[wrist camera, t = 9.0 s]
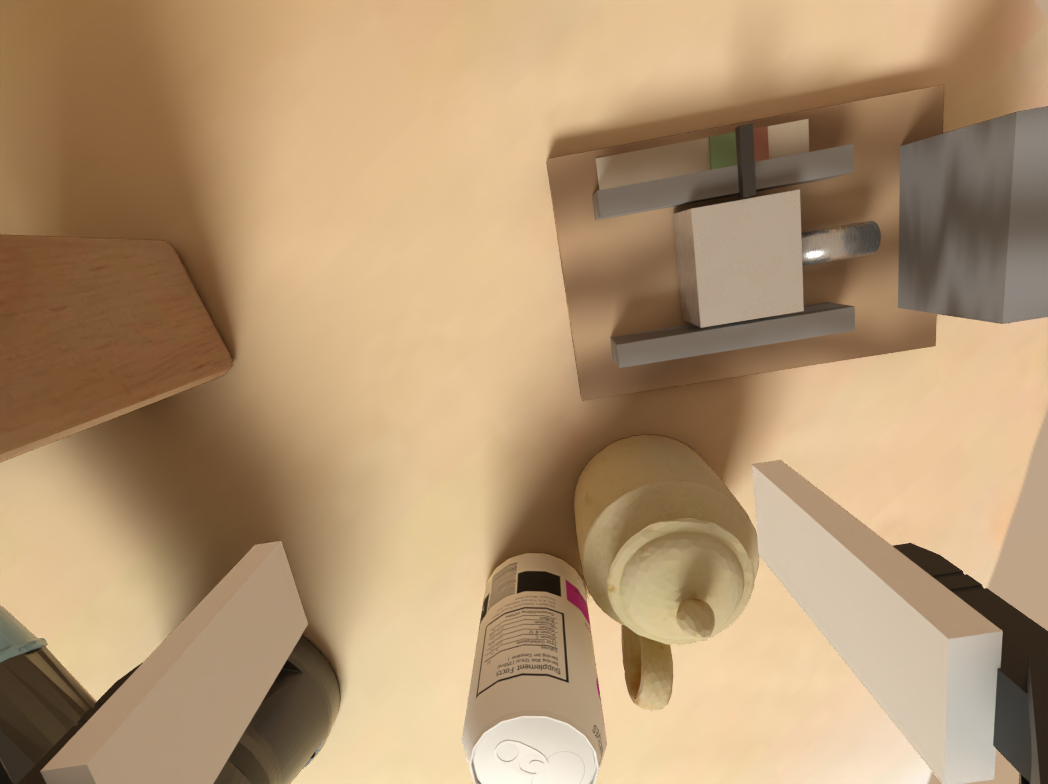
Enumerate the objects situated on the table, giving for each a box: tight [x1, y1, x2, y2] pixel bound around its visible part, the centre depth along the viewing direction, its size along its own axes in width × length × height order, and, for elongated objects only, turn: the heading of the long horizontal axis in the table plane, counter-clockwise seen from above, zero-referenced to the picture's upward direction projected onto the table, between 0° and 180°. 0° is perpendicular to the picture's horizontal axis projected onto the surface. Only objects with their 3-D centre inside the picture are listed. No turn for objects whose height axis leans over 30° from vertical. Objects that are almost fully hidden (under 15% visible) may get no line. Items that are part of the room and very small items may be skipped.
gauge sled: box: [673, 123, 881, 328], centre depth 31 cm, size 10×11×5 cm
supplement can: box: [462, 553, 607, 784], centre depth 35 cm, size 8×8×15 cm
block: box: [0, 235, 233, 462], centre depth 28 cm, size 10×10×20 cm
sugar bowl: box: [574, 435, 759, 711], centre depth 33 cm, size 15×11×15 cm
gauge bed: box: [547, 85, 1048, 401], centre depth 31 cm, size 16×24×10 cm, turn 100°
